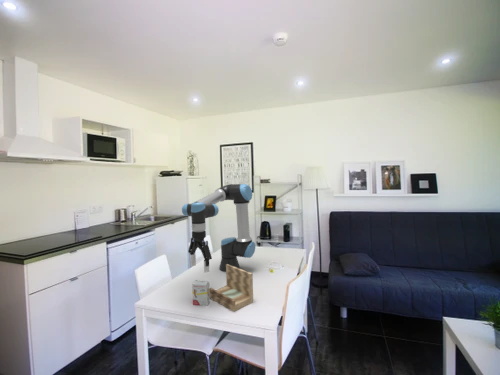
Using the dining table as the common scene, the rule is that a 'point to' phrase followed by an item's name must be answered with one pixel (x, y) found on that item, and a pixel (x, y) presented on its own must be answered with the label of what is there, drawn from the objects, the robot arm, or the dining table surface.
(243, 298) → the wooden holder
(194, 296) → the ink box
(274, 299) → the dining table surface
